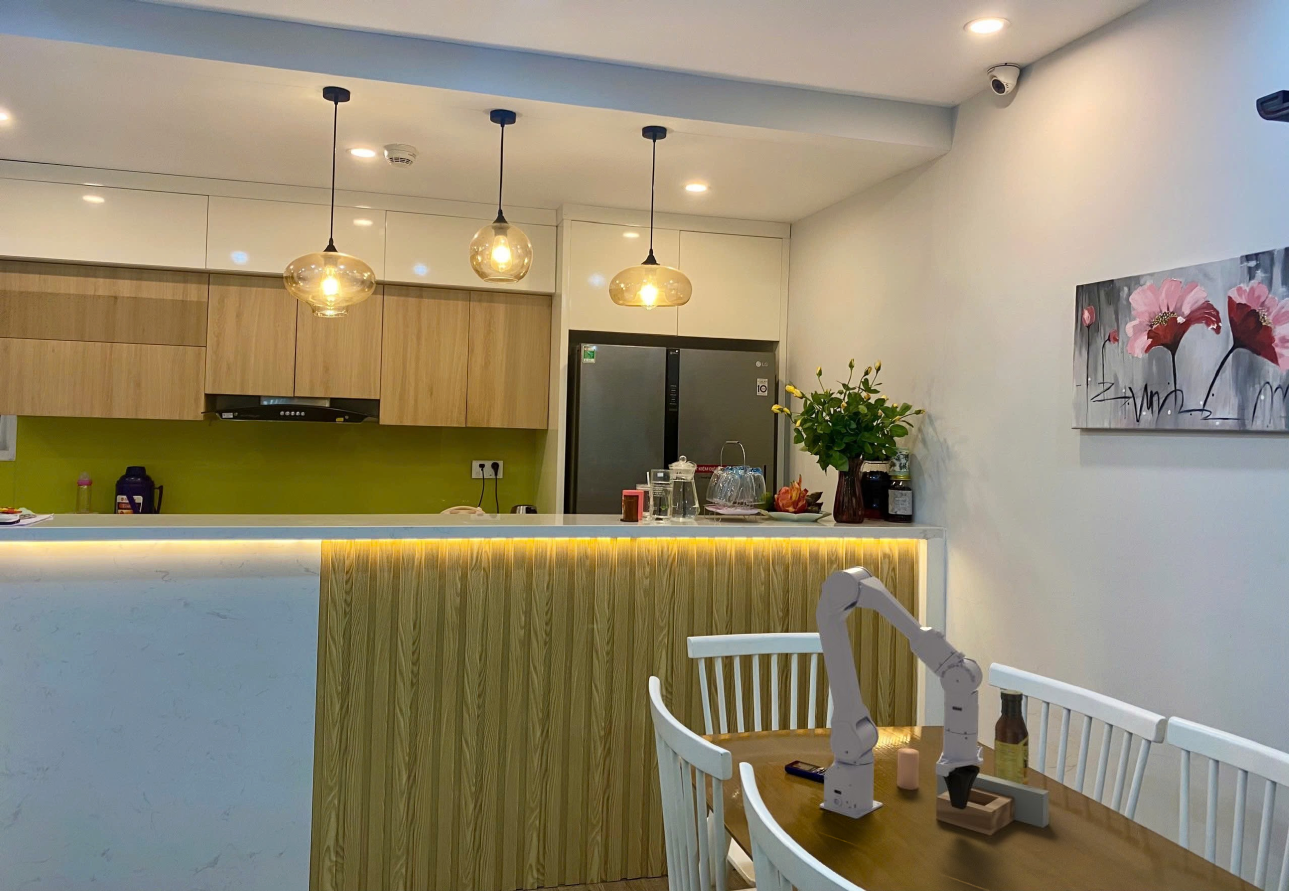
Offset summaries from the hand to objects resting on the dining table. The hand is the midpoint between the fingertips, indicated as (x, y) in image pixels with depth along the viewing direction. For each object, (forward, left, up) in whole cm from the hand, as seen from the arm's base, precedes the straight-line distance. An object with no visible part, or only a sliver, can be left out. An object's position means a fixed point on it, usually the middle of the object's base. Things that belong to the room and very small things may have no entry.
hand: (958, 807), depth 166 cm
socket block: (+7, 0, -4) cm, 8 cm away
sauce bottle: (+25, +1, -4) cm, 25 cm away
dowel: (+14, +17, -4) cm, 22 cm away
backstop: (+13, 0, -4) cm, 14 cm away
